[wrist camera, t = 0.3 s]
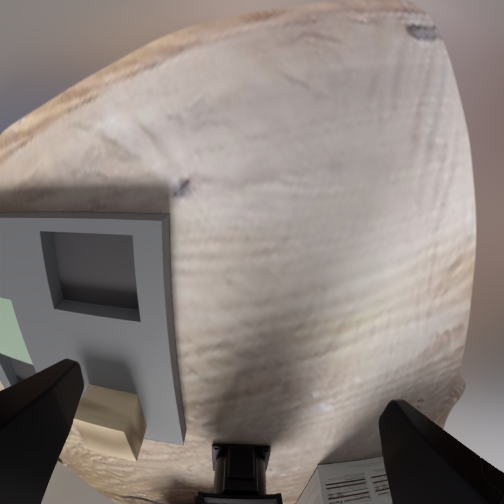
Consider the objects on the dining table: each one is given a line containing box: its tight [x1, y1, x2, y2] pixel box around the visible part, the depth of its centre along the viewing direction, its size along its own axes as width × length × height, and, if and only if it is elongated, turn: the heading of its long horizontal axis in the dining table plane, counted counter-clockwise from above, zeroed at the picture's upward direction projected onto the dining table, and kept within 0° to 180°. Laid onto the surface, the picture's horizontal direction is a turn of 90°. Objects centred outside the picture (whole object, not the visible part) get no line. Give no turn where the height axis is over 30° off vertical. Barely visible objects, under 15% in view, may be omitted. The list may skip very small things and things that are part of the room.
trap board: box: [0, 212, 186, 445], centre depth 22 cm, size 23×24×2 cm
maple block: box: [73, 384, 147, 462], centre depth 22 cm, size 5×5×4 cm
